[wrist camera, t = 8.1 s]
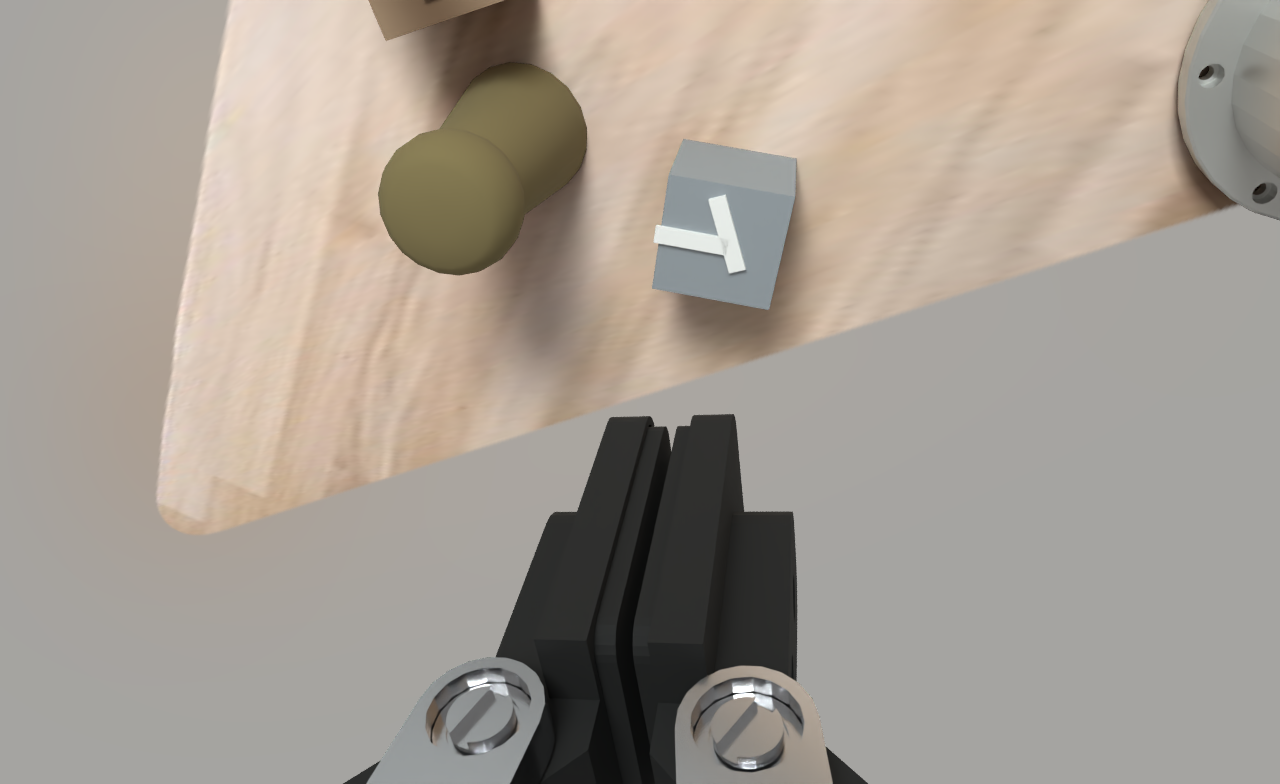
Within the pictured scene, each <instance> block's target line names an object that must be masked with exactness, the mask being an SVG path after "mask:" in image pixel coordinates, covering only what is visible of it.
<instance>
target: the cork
mask: <svg viewBox="0 0 1280 784" xmlns="http://www.w3.org/2000/svg"><path fill="white" fill-rule="evenodd" d="M586 143H587V127H586V124H585V120H584V117H583V114H582V110H581V107H580V105H579V104H578V102H577V101H576V99H575V98H574V96H573V94H572V93H571V91H570V90H569V88H568V87H567V86H565V85H564V84H563V83H562V82H561V81H560V80H558V79H557V78H556V77H555V76H554V75H553V74H551V73H550V72H547V71H545V70H543V69H540V68H538V67H536V66H533V65H531V64H522V63H511V62H509V63H505V64H501V65H498V66H494V67H490V68H488V69H487V70H486V71H484V72H483V73H481V74H480V75H479V76H477V77H476V78H474V79H473V80H472V82H471V83H470V85H469V86H468V88H467V89H466V91H465V92H464V94H463V95H462V97H461V98H460V100H459V101H458V103H457V104H456V106H455V107H454V108H453V110H452V111H451V113H450V114H449V116H448V117H447V119H446V120H445V122H444V123H443V125H442V126H441V128H440V129H438V130H434V131H430V132H426V133H422V134H419V135H418V136H416V137H415V138H413V139H412V140H410V141H409V142H408V143H406V144H405V145H403V146H402V147H400V148H399V149H398V150H396V152H395V153H394V155H393V156H392V158H391V159H390V161H389V162H388V164H387V165H386V167H385V169H384V172H383V174H382V178H381V183H380V187H379V192H378V197H379V206H380V215H381V217H382V219H383V222H384V224H385V226H386V229H387V231H388V233H389V236H390V237H391V239H392V240H393V241H394V242H395V244H396V245H397V246H398V248H399V249H400V250H401V251H402V253H404V254H405V255H406V256H408V257H409V258H410V259H412V260H413V261H414V262H416V263H417V264H418V265H421V266H423V267H426V268H428V269H431V270H433V271H435V272H438V273H443V274H452V275H464V274H469V273H475V272H479V271H481V270H483V269H485V268H487V267H489V266H490V265H492V264H494V263H495V262H497V261H499V260H500V259H502V258H503V256H504V255H505V254H506V253H507V251H508V250H509V249H510V248H511V246H512V245H513V244H514V242H515V241H516V239H517V238H518V235H519V232H520V229H521V226H522V223H523V220H524V215H525V214H526V213H528V212H529V211H530V210H532V209H533V208H534V207H536V206H537V205H539V204H540V203H541V202H543V201H544V200H545V199H547V198H548V197H550V196H551V195H552V194H554V193H555V192H556V191H558V190H559V189H561V188H562V187H563V186H565V185H566V184H567V183H568V182H569V181H570V180H571V179H572V177H573V176H574V175H575V174H576V172H577V171H578V170H579V169H580V166H581V163H582V160H583V158H584V155H585V152H586Z"/></svg>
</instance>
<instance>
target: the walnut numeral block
mask: <svg viewBox="0 0 1280 784" xmlns="http://www.w3.org/2000/svg"><path fill="white" fill-rule="evenodd" d="M501 1H504V0H369V3H370V5H371V7H372V10H373V12H374V14H375V17H376V19H377V21H378V24H379V26H380V28H381V31H382V33H383V36H384V38H385V40H386V41H387V40H390V39H393V38H396V37H399V36H402V35H405V34H408V33H411V32H413V31H416V30H419V29H422V28H425V27H428V26H431V25H434V24H437V23H440V22H443V21H446V20H448V19H451V18H454V17H457V16H460V15H463V14H466V13H469V12H472V11H475V10H478V9H481V8H483V7H486V6H489V5H492V4H495V3H498V2H501Z"/></svg>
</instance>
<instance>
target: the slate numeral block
mask: <svg viewBox="0 0 1280 784" xmlns="http://www.w3.org/2000/svg"><path fill="white" fill-rule="evenodd" d="M795 189H796V158H790V157H784V156H778V155H773V154H767V153H761V152H755V151H750V150H744V149H738V148H733V147H727V146H721V145H715V144H710V143H704V142H698V141H692V140H687V139H683V142H682V144H681V146H680V149H679V151H678V154H677V156H676V159H675V161H674V163H673V166H672V168H671V171H670V173H669V177H668V184H667V191H666V198H665V204H664V211H663V218H662V225H656V229H655V236H654V243H659V245H658V252H657V259H656V265H655V272H654V279H653V286H652V288H653V289H658V290H663V291H669V292H674V293H680V294H685V295H690V296H696V297H701V298H706V299H712V300H717V301H723V302H728V303H733V304H739V305H744V306H749V307H755V308H760V309H766V310H769V308H770V304H771V299H772V295H773V291H774V286H775V282H776V278H777V273H778V269H779V265H780V261H781V256H782V252H783V248H784V243H785V239H786V235H787V230H788V226H789V222H790V217H791V213H792V209H793V204H794V200H795Z"/></svg>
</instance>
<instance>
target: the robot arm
mask: <svg viewBox="0 0 1280 784" xmlns="http://www.w3.org/2000/svg"><path fill="white" fill-rule="evenodd" d="M1206 66H1209V72H1208V73H1207V74H1206V75H1205V76H1204V77H1201V78H1199V75H1200V72H1201V71H1202V70H1203V69H1204V68H1205V67H1206ZM1178 116H1179V120H1180V125H1181V130H1182V135H1183V140H1184V142H1185V144H1186V146H1187V148H1188V150H1189V152H1190V154H1191V156H1192V158H1193V160H1194V162H1195V164H1196V165H1197V167H1198V168H1199V169H1200V170H1201V171H1202V172H1203V174H1204V175H1205V176H1206V177H1207V178H1208V180H1209V181H1210V182H1211V183H1212V184H1213V185H1214V186H1215V187H1217V188H1218V189H1219V190H1220V191H1222V192H1223V193H1224V194H1225V195H1226V196H1228V197H1229V198H1230V199H1231V200H1233V201H1235V202H1236V203H1238V204H1240V205H1241V206H1243V207H1245V208H1246V209H1248V210H1250V211H1252V212H1255V213H1258V214H1261V215H1264V216H1268V217H1271V218H1274V219H1277V220H1280V0H1209V1H1208V2H1207V4H1206V5H1205V7H1204V9H1203V10H1202V12H1201V14H1200V15H1199V18H1198V20H1197V22H1196V25H1195V27H1194V30H1193V32H1192V34H1191V37H1190V39H1189V41H1188V44H1187V46H1186V49H1185V53H1184V58H1183V62H1182V67H1181V71H1180V76H1179V80H1178ZM1260 184H1262V185H1261V187H1260V188H1259V189H1258V190H1256V191H1254V189H1255V188H1256V187H1258V186H1259V185H1260ZM796 669H797V576H796V552H795V533H794V518H793V512H744V506H743V496H742V484H741V473H740V462H739V451H738V440H737V429H736V421H735V416H734V414H725V415H694V416H693V417H692V420H691V425H690V426H678V427H677V429H676V434H675V438H674V443H673V447H672V452H671V447H670V440H669V433H668V430H667V427H654V422H653V420H652V418H651V417H650V416H646V417H645V416H642V417H611V418H610V419H609V421H608V423H607V426H606V429H605V432H604V435H603V438H602V441H601V443H600V446H599V449H598V452H597V455H596V458H595V461H594V464H593V467H592V470H591V473H590V476H589V479H588V482H587V485H586V487H585V491H584V493H583V496H582V499H581V502H580V505H579V508H578V511H577V512H555V513H553V514H552V515H551V516H550V518H549V519H548V522H547V523H546V526H545V529H544V531H543V534H542V537H541V539H540V542H539V544H538V547H537V550H536V552H535V555H534V558H533V560H532V563H531V565H530V568H529V571H528V573H527V576H526V578H525V581H524V584H523V586H522V589H521V592H520V594H519V597H518V599H517V602H516V605H515V607H514V610H513V613H512V615H511V618H510V621H509V623H508V626H507V628H506V632H505V634H504V636H503V639H502V642H501V644H500V647H499V649H498V652H497V655H496V657H487V658H482V659H478V660H473V661H468V662H466V663H464V664H462V665H460V666H457V667H455V668H453V669H451V670H449V671H448V672H446V673H445V674H444V675H442V676H441V677H440V678H438V679H437V680H436V681H434V682H433V683H432V684H431V685H430V687H429V688H428V689H427V690H426V691H425V693H424V694H423V695H422V696H421V698H420V699H419V700H418V702H417V704H416V705H415V707H414V709H413V710H412V712H411V713H410V715H409V717H408V718H407V720H406V721H405V723H404V724H403V726H402V728H401V729H400V731H399V732H398V734H397V736H396V737H395V739H394V740H393V742H392V744H391V745H390V747H389V748H388V750H387V751H386V753H385V755H384V756H383V758H382V759H381V761H379V762H378V763H376V764H374V765H373V766H371V767H369V768H368V769H366V770H365V771H363V772H361V773H360V774H358V775H357V776H355V777H353V778H352V779H350V780H348V781H347V782H345V783H343V784H868V783H867V782H865V781H864V780H863V779H862V778H861V777H860V776H859V775H858V774H856V773H855V772H854V771H853V770H852V769H851V768H850V767H848V766H847V765H846V764H845V763H844V762H843V761H841V760H840V759H839V758H838V757H837V756H836V755H835V754H834V753H832V752H831V751H830V750H829V749H828V748H827V747H826V746H825V741H824V737H823V731H822V726H821V721H820V716H819V714H818V711H817V709H816V706H815V704H814V701H813V699H812V697H811V696H810V695H809V694H808V693H807V692H806V690H805V689H804V688H803V687H802V686H801V685H800V684H799V683H798V682H796V677H797V676H796V675H797V674H796V673H797V672H796V671H797V670H796Z"/></svg>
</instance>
